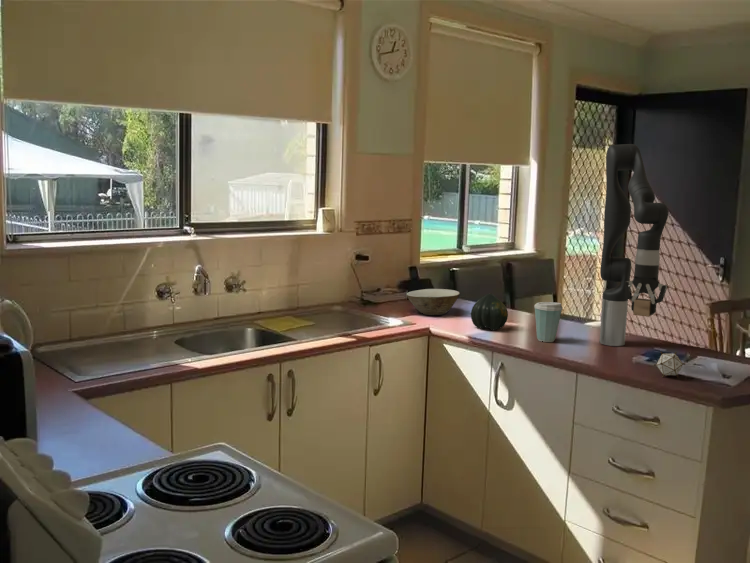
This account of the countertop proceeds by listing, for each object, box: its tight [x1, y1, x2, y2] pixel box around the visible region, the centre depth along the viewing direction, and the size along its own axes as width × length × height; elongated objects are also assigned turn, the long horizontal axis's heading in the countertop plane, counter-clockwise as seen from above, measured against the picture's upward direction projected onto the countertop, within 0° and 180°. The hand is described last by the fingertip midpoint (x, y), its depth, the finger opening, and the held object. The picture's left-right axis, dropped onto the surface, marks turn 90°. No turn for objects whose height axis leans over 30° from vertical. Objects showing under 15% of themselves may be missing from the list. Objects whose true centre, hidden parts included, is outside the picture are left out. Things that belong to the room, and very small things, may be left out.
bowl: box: [406, 288, 461, 316], centre depth 331 cm, size 24×24×10 cm
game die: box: [653, 351, 686, 378], centre depth 241 cm, size 9×8×10 cm
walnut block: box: [632, 297, 652, 318], centre depth 247 cm, size 5×5×5 cm
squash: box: [470, 292, 509, 331], centre depth 304 cm, size 14×15×15 cm
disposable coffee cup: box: [534, 301, 564, 343], centre depth 285 cm, size 11×11×15 cm
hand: (643, 313), depth 247 cm, fingers closed on walnut block, 5 cm apart
